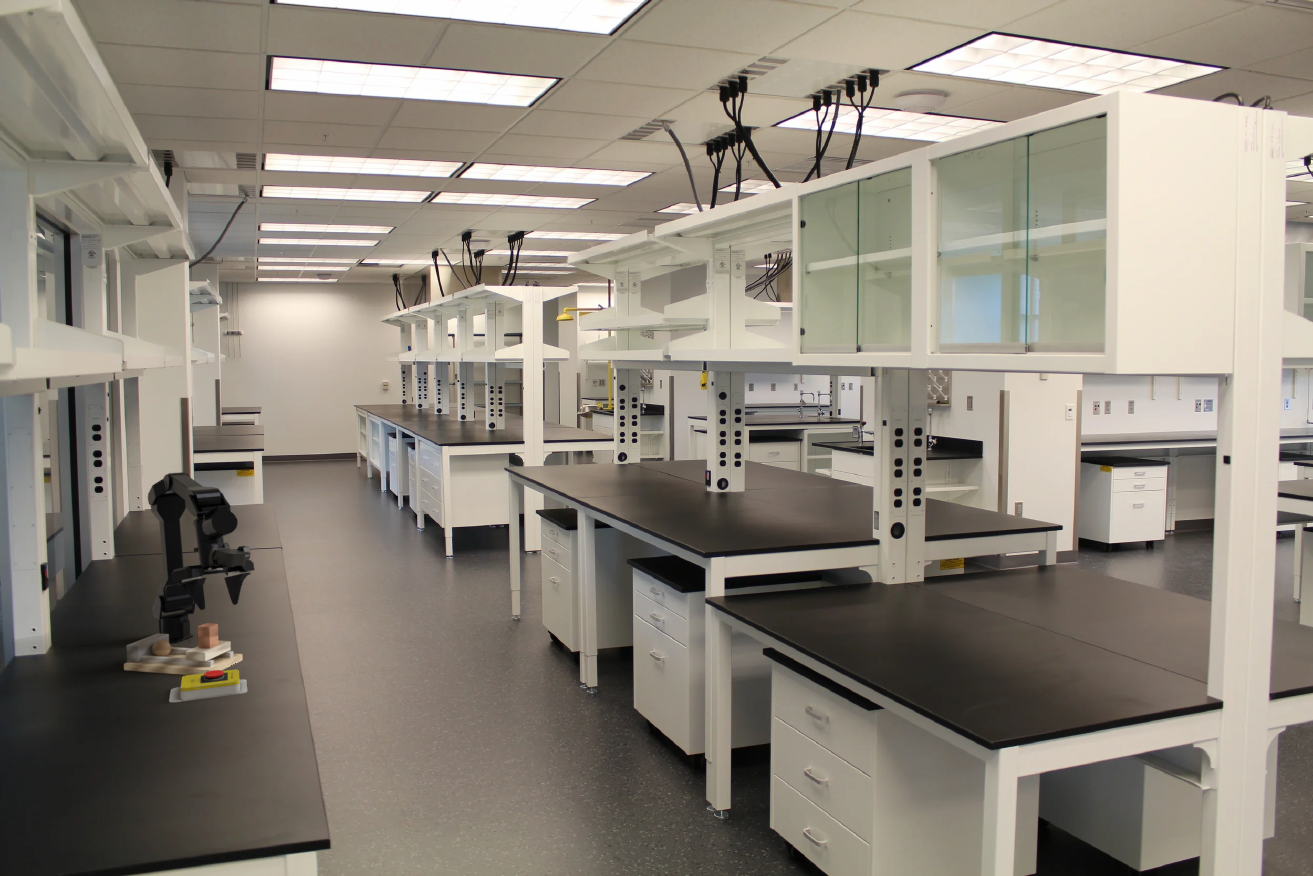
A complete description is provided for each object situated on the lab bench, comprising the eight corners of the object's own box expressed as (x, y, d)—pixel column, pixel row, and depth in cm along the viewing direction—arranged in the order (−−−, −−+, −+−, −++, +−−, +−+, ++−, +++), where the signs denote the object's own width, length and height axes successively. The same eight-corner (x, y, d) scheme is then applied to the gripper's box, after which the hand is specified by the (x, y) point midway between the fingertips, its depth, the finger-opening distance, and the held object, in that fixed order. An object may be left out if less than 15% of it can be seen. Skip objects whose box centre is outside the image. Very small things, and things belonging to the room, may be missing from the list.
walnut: (148, 659, 213) (147, 642, 213) (160, 654, 217) (159, 637, 216) (163, 660, 212) (162, 643, 212) (175, 655, 216) (174, 638, 216)
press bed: (124, 670, 210) (123, 646, 209) (161, 654, 221) (160, 632, 221) (209, 676, 206) (208, 652, 205) (242, 660, 217) (242, 637, 217)
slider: (185, 660, 208) (185, 630, 208) (211, 648, 217) (211, 619, 216) (205, 661, 207) (204, 631, 207) (230, 649, 216) (229, 620, 216)
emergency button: (247, 675, 195) (168, 684, 189) (247, 695, 195) (168, 705, 189) (246, 662, 204) (170, 671, 197) (246, 681, 204) (171, 691, 197)
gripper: (201, 537, 203) (211, 606, 201) (266, 532, 220) (276, 596, 218) (166, 546, 207) (175, 614, 205) (233, 541, 224) (241, 604, 222)
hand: (219, 607), depth 212 cm, fingers open, 9 cm apart
